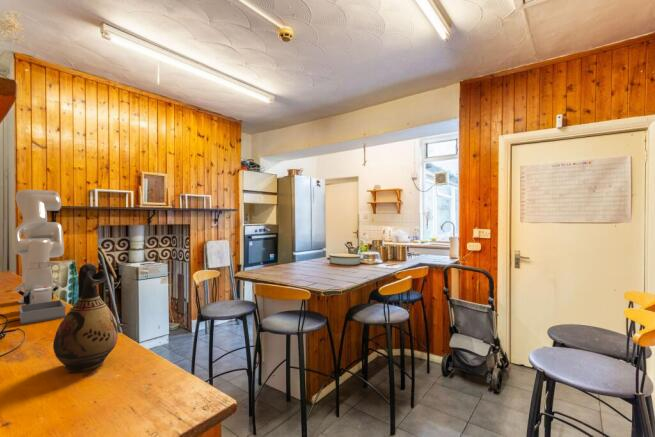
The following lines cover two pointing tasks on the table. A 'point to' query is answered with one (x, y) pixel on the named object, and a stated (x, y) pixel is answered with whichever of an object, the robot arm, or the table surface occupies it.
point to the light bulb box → (40, 295)
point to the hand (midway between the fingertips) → (38, 302)
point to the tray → (41, 312)
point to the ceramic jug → (86, 326)
